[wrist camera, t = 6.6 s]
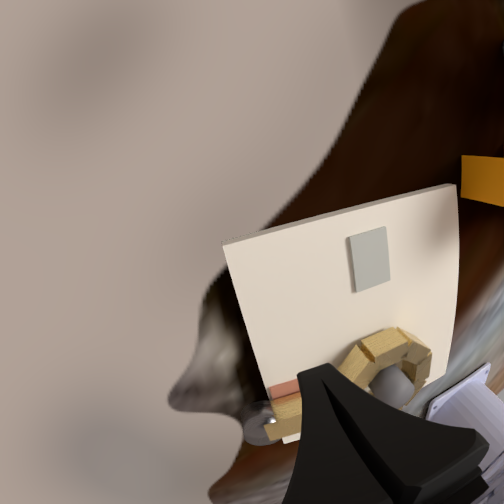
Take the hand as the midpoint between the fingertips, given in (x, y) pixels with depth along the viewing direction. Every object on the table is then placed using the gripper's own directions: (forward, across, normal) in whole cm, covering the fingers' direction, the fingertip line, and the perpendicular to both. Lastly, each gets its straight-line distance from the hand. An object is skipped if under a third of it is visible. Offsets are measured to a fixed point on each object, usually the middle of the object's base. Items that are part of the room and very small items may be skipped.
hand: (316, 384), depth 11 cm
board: (+4, -4, +1) cm, 6 cm away
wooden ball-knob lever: (+3, -2, +4) cm, 5 cm away
